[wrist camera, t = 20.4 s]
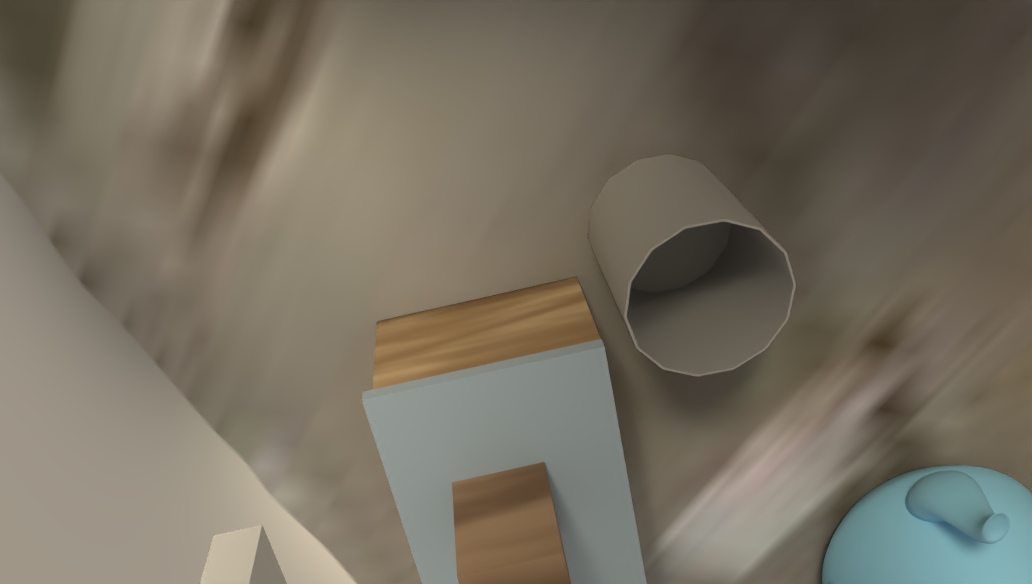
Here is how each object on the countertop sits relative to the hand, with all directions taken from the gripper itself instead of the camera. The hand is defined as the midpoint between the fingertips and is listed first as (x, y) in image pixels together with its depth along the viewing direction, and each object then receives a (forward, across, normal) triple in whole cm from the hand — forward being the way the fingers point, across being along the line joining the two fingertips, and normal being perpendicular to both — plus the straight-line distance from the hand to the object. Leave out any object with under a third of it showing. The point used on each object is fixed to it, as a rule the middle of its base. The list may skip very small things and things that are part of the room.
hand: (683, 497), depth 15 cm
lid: (+29, -4, -22) cm, 36 cm away
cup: (+37, +7, -12) cm, 39 cm away
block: (+28, -5, -22) cm, 36 cm away
